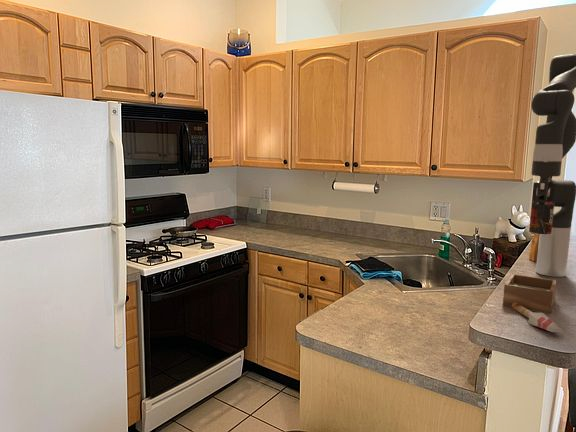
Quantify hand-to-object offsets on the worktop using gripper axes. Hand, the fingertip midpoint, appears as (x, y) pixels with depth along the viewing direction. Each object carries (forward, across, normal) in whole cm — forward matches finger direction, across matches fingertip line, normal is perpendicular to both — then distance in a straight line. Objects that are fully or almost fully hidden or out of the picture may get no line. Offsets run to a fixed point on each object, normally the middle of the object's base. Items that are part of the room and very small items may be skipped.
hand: (541, 215), depth 134 cm
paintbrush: (+24, +29, +3) cm, 38 cm away
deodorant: (+5, 0, 0) cm, 5 cm away
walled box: (+24, +13, 0) cm, 27 cm away
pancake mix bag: (+24, -52, -3) cm, 57 cm away
